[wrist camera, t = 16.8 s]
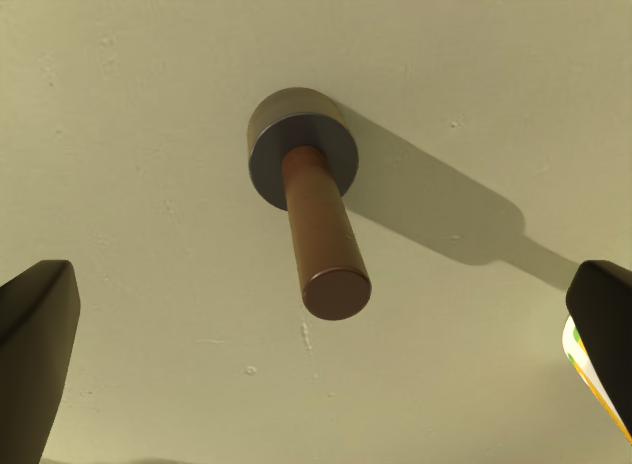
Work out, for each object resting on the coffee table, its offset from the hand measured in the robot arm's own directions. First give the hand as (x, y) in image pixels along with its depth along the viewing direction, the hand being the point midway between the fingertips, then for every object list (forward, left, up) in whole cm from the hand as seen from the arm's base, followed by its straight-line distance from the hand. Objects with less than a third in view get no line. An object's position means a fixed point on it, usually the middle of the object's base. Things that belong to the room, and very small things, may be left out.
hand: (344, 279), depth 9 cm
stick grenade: (0, 0, -7) cm, 7 cm away
